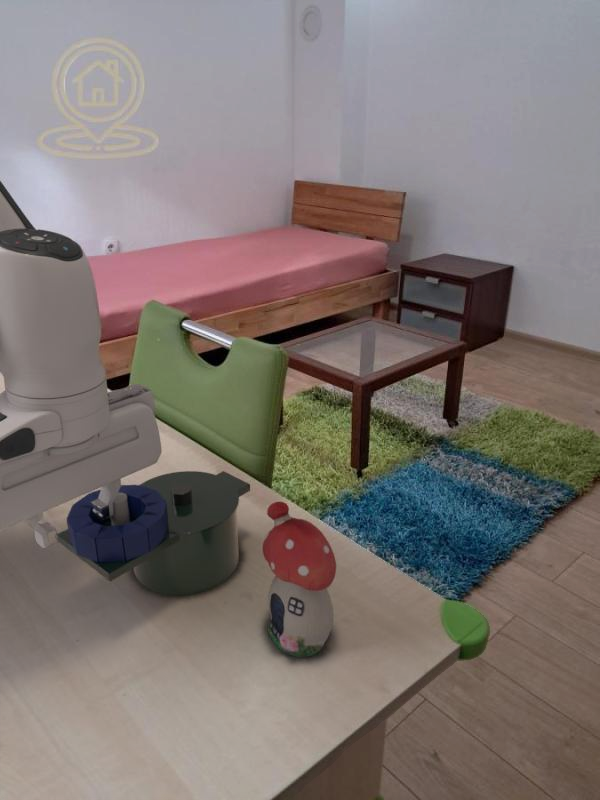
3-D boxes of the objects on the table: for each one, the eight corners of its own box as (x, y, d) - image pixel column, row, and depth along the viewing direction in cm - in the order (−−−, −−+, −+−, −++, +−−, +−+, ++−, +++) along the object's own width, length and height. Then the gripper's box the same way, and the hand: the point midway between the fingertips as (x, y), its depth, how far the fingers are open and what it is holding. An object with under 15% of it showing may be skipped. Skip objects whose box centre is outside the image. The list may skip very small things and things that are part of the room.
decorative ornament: (255, 611, 71) (252, 498, 65) (308, 595, 74) (310, 485, 68) (286, 672, 64) (287, 550, 57) (344, 652, 66) (351, 533, 60)
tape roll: (61, 564, 65) (56, 540, 64) (83, 508, 74) (80, 486, 73) (162, 560, 66) (159, 536, 64) (171, 504, 75) (170, 483, 74)
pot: (205, 509, 90) (199, 424, 84) (275, 548, 82) (274, 458, 76) (59, 590, 74) (41, 493, 69) (128, 649, 66) (114, 544, 61)
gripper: (134, 370, 69) (142, 479, 74) (-67, 431, 55) (-37, 559, 60) (170, 387, 65) (176, 501, 71) (-36, 456, 51) (-7, 591, 57)
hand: (76, 528), depth 65 cm, fingers open, 5 cm apart
